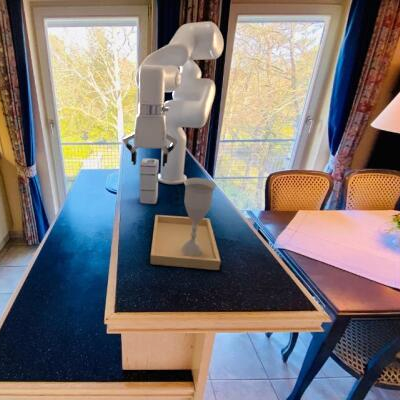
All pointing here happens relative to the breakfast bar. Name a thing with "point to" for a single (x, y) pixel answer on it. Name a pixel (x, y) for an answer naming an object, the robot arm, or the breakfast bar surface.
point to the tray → (175, 239)
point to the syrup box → (149, 181)
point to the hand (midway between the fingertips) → (149, 164)
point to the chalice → (196, 209)
